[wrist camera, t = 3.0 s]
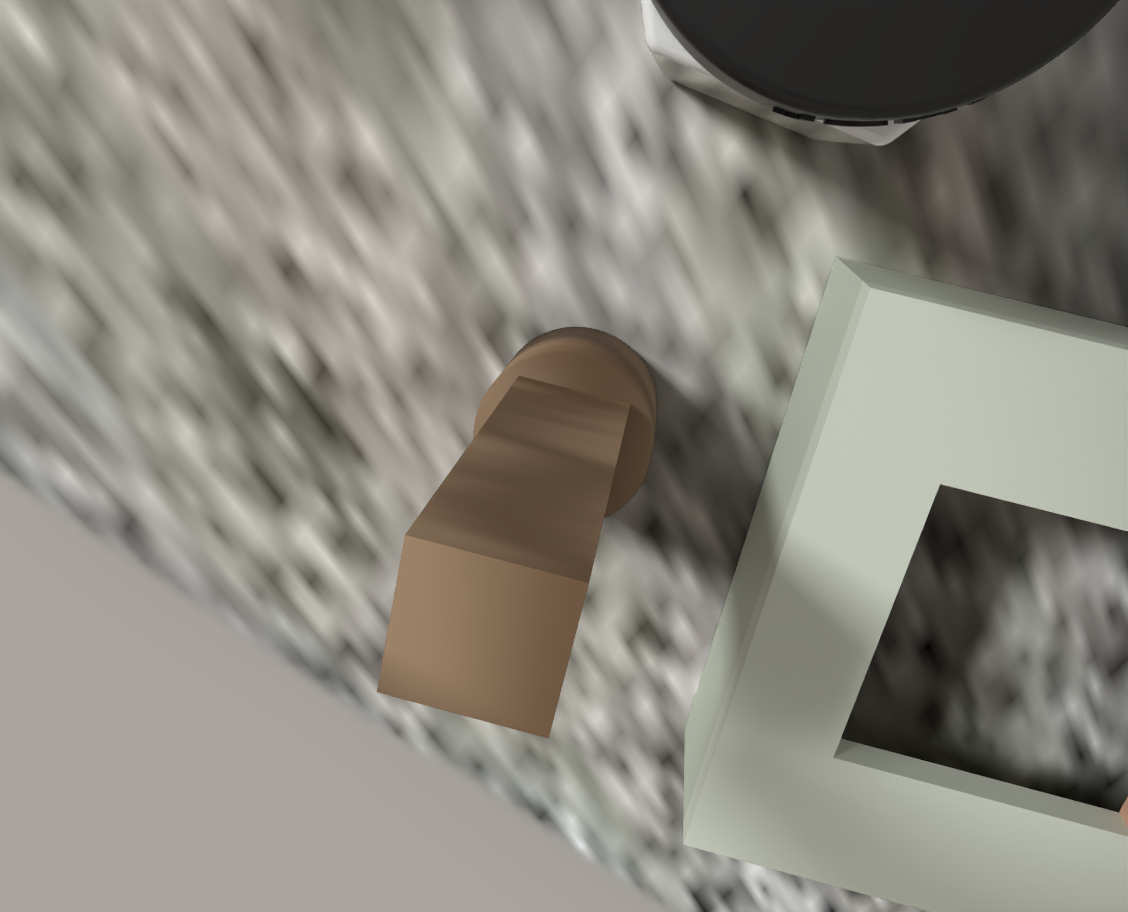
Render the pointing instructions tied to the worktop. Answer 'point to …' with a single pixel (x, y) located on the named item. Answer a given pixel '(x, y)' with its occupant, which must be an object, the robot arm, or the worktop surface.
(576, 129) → the worktop surface
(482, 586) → the bolt peg
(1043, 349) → the keyhole box
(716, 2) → the jar
